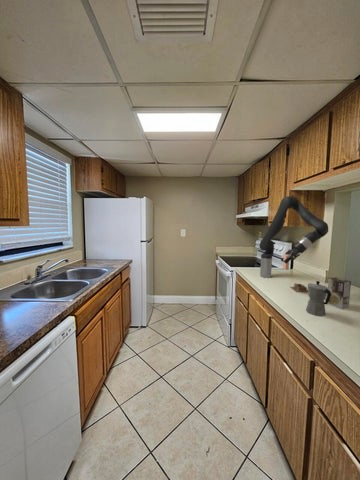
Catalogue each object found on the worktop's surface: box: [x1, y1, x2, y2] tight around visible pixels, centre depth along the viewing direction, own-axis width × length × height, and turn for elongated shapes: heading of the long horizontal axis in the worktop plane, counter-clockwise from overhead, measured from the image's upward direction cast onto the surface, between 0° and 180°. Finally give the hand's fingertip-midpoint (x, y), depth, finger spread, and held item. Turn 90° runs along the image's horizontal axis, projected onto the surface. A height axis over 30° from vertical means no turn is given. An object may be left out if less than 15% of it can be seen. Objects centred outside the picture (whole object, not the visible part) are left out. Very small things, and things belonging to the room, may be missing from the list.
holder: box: [289, 282, 308, 294], centre depth 148 cm, size 12×10×5 cm
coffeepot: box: [305, 280, 331, 317], centre depth 112 cm, size 15×9×18 cm, turn 6°
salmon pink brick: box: [282, 253, 290, 271], centre depth 144 cm, size 5×2×10 cm, turn 173°
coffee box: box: [327, 277, 352, 310], centre depth 123 cm, size 9×6×16 cm
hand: (283, 261), depth 144 cm, fingers closed on salmon pink brick, 5 cm apart
